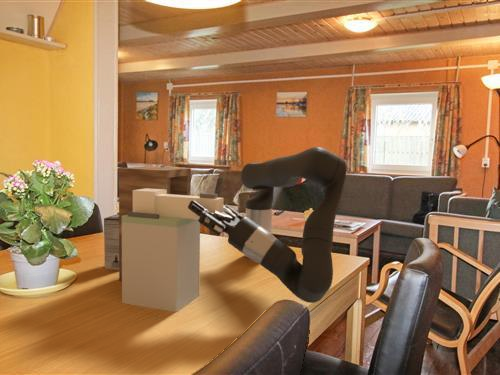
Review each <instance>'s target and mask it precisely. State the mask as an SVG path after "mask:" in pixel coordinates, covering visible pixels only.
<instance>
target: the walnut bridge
mask: <svg viewBox="0 0 500 375" xmlns="http://www.w3.org/2000/svg"><path fill="white" fill-rule="evenodd" d="M191 169H192V168H191V167H188V168H187V167H169V166H168V167H167V166H166V167H165V166H134V167H133V166H132V167H119V168H118V214H119V270H118V276H119V280H118V281H119V282H122V216H124V215H128V212H133V190H138V189H145V188H150V189H165V190H167V194H174V195H189V196H192V195H191V194H192V193H191V190H192V188H191V185H192V182H191V178H192V176H191V175H192V170H191Z"/></svg>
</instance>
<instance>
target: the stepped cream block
mask: <svg viewBox="0 0 500 375" xmlns="http://www.w3.org/2000/svg"><path fill="white" fill-rule="evenodd" d="M193 200H194V201H196V202H197V203H199V204H200V205H201V206H203V207H204V208H206V209H207V210H210V211H212V212H213V211H217V212H220V213H222V212H223V205H224V202H225V201H224V200H225V198H224V197H218V193H210V192H209V193H207V192H200V193H199V195H191V196H189V195H174V194H167V190H165V189H150V188H145V189H138V190H133V212H140V213H152V214H159V216H163V217H175V218H186V219H198V220H199V218H200V217H199V216H198V215H197V214H195V213H194V212H192V211H191V210H190V209H188V205H189V204H190V202H191V201H193ZM206 218H207V217H206Z"/></svg>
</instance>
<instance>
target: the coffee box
mask: <svg viewBox="0 0 500 375" xmlns="http://www.w3.org/2000/svg"><path fill="white" fill-rule="evenodd" d="M103 234H104V235H103V237H104V238H103V240H104V243H103V246H104V248H103V250H104V269H105V270H112V271H113V270H114V271H119V213H117V214H114V215H111V216H107V217H104V218H103Z"/></svg>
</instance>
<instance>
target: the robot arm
mask: <svg viewBox="0 0 500 375" xmlns="http://www.w3.org/2000/svg"><path fill="white" fill-rule="evenodd" d="M347 167H348V166H347V163H346V161H345V159H343V158H342V157H340V156H339V155H338V154H337V155H336V154H335V153H333V152H331V151H330V150H328V149H326V148H324V147H321V146H320V147H319V146H313V147H310V148H308V149H304V150H303V151H300V152H298V153H296V154H292V155H291V154H290V155H288V156H287V155H285V156H280V157H277V158H274V159H269V160H267V161H263V162H249V163H246V164H245V165H244V166H243V167H242V169H241V173H240V179H241V183H242V185H243V186H244V187H245V188H246V189H250V190H259V192H258V193H257V194H256V195H254V196H251V197H250V198H248V199H246V201H245V216H244V215H242V214H241V213H239V212H238V211H237V210H236V209H234V208H232V206H230V205H229V204H223V212H222V213H220V212H217V211H213V212H212V211H210V210H207V209H206V208H204V207H203V206H201V205H200V204H199V203H197V202H196V201H194V200H193V201H191V202H190V204H189V205H188V209H190V210H191V211H192V212H194V213H195V214H197V215H198V216H199V217H200V218H199V220H198V222H200V225H203V226H204V227H206V228H207V229H208V230H210V231H212V232H213V233H214V234H215V235H217V236H221V234H222V233H225V234H227V235H228V239H227V243H228V244H230V245H231V246H232V247H233V248H234V249H236V250H238V251H239V252H240V253H242V254H243V255H244V257H245V258H248V259H249V260H252V261H253V262H255V263H257V264H259V265H260V266H262V267H263V268H264V269H266V270H267V271H269V272H270V273H271V274H273V275H274V276H276V277H277V279H279V281H280V282H281V283H282V284H283V285H284V286H285V287H286V288H287V289H288V290H289V291H290V292H291V293H292V294H293V295H294V296H295V297H297V298H298V299H300V300H301V301H302V302H306V303H309V304H313V303H317V302H319V301H321V300H322V299H323V298H324V296H325V295H326V294H327V293H328V292H329V290H330V289H331V286H332V283H333V279H334V278H333V276H334V268H333V265H334V264H333V257H332V250H333V240H334V228H335V227H334V226H335V220H336V217H337V212H338V209H339V205H340V202H341V198H342V192H343V189H344V185H345V182H346V177H347V171H348V170H347ZM301 179H303V180H306V181H308V182H310V183H312V184H314V185H316V186H318V187H320V188H322V189H323V198H322V200H321V201H320V202H319V205H317V207H316V208H315V209H313V210H312V212H311V213H310V214H309V215H308V216H307V218H306V220H305V222H304V226H303V231H302V237H301V247H300V248H301V255H302V263H301V262H300V261H299V260H298V259H297V254H296V251H295V250H293V249H292V248H291V247H290V246H288V245H287V244H286V243H284V242H283V241H281V240H279V239H278V238H277V237H275V235H274V234H272V215H273V214H272V213H273V212H272V211H273V203H274V191H275V188H290V187H294V186H295V185H297V184H299V182H300V181H301ZM206 217H207V218H206Z"/></svg>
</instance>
